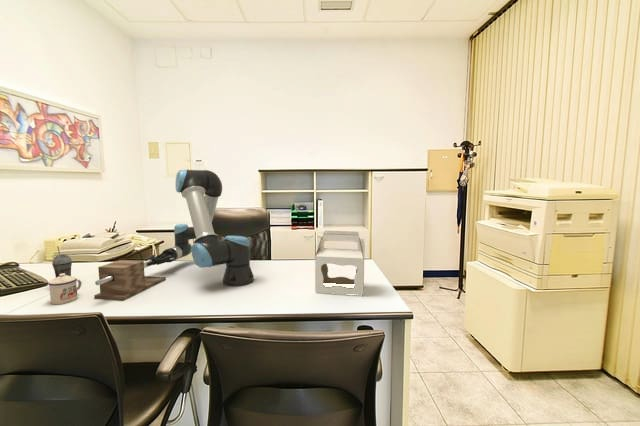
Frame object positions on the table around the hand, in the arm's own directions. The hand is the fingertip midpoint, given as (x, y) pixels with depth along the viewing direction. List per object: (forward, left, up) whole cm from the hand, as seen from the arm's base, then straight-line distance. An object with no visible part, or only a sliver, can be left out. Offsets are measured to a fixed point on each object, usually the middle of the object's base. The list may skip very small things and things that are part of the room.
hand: (140, 266), depth 144 cm
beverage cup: (+18, +31, -9) cm, 37 cm away
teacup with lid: (-3, +28, -9) cm, 29 cm away
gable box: (-62, -75, -9) cm, 98 cm away
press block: (-4, +4, -9) cm, 11 cm away
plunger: (-10, +9, -3) cm, 14 cm away
